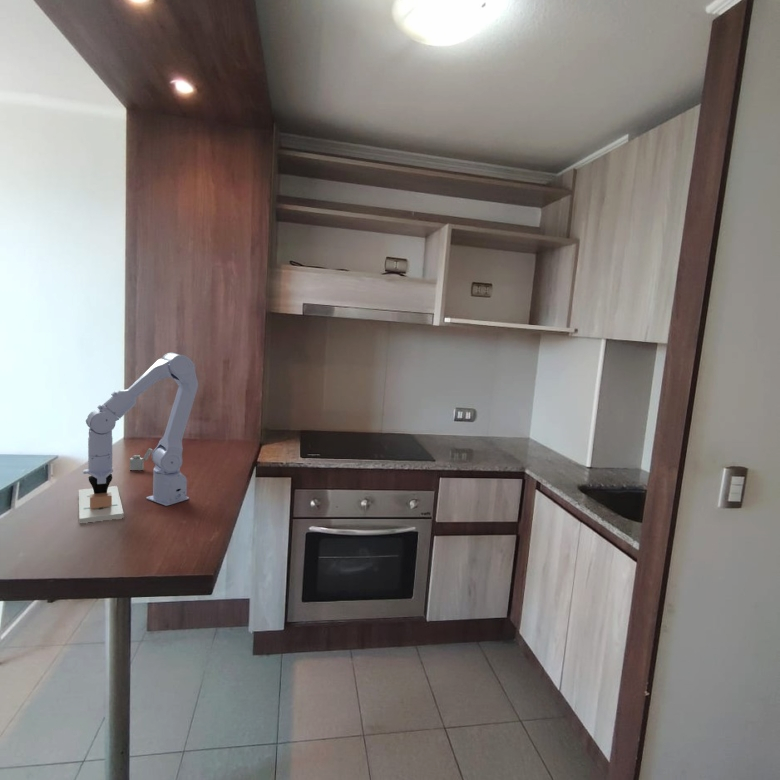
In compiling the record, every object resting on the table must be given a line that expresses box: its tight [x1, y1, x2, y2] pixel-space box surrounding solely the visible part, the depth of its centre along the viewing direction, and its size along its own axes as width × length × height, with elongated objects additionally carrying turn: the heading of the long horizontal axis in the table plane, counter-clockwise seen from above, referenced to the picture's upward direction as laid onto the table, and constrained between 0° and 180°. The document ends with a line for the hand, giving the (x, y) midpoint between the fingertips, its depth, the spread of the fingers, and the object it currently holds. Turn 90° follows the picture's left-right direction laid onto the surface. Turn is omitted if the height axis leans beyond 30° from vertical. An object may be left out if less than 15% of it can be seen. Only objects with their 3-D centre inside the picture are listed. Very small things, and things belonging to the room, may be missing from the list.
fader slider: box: [90, 492, 112, 509], centre depth 133 cm, size 3×5×3 cm, turn 123°
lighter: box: [129, 447, 154, 471], centre depth 171 cm, size 7×2×8 cm, turn 104°
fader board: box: [78, 485, 125, 524], centre depth 138 cm, size 24×10×2 cm, turn 33°
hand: (100, 501), depth 135 cm, fingers closed
